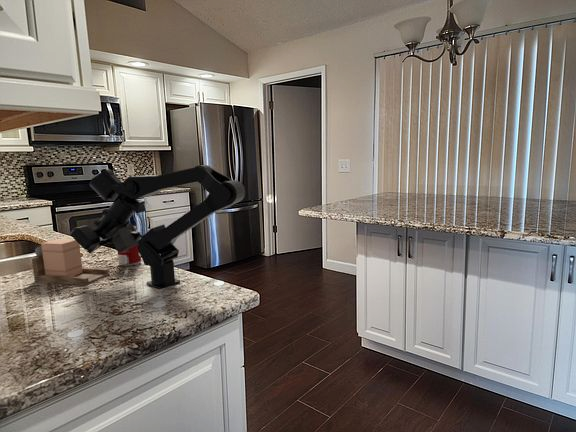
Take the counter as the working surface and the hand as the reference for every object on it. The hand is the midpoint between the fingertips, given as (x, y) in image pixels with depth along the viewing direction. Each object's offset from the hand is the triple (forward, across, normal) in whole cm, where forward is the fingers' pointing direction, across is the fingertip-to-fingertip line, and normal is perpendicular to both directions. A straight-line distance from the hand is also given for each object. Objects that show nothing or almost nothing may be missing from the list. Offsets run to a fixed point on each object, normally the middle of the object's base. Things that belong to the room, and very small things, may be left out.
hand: (89, 252), depth 105 cm
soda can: (+5, +16, -6) cm, 18 cm away
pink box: (+12, 0, +2) cm, 12 cm away
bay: (+10, 0, -1) cm, 10 cm away
